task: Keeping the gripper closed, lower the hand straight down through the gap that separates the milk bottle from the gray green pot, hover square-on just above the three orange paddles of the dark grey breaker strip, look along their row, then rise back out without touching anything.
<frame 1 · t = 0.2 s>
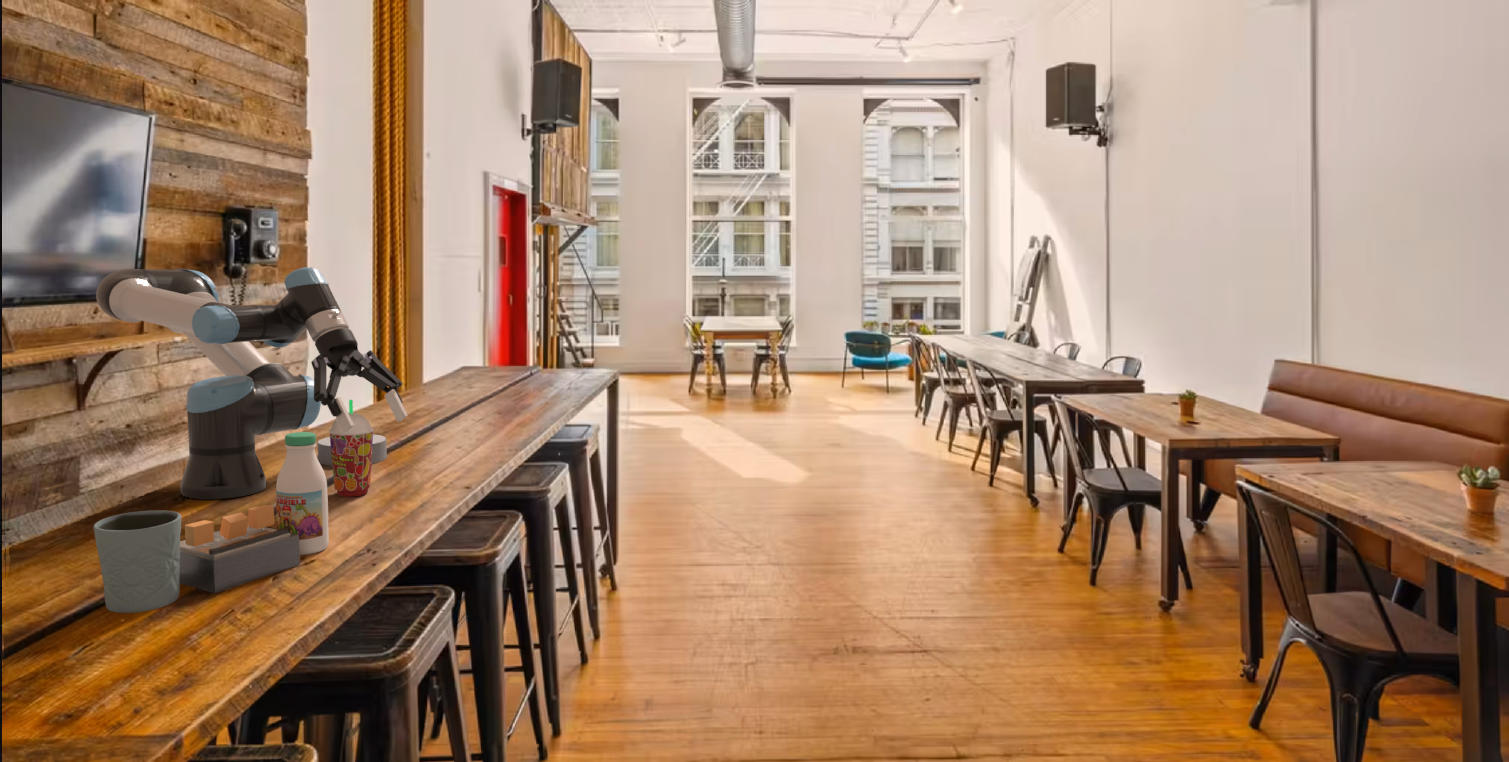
hand: (376, 423, 176), 15 cm above the table, tool tilted 35°, fingers open, 13 cm apart
breaker strip: (233, 571, 134), on the table
paddle near glass: (199, 533, 128), point 8 cm above the table, hinge at 0.0°
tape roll: (352, 460, 209), on the table
paddle centre: (234, 526, 133), point 7 cm above the table, hinge at 18.0°
paddle near bottle: (261, 516, 137), point 8 cm above the table, hinge at 0.0°
gray green pot: (142, 602, 122), on the table
smoothie: (352, 494, 179), on the table
milk bottle: (303, 550, 145), on the table
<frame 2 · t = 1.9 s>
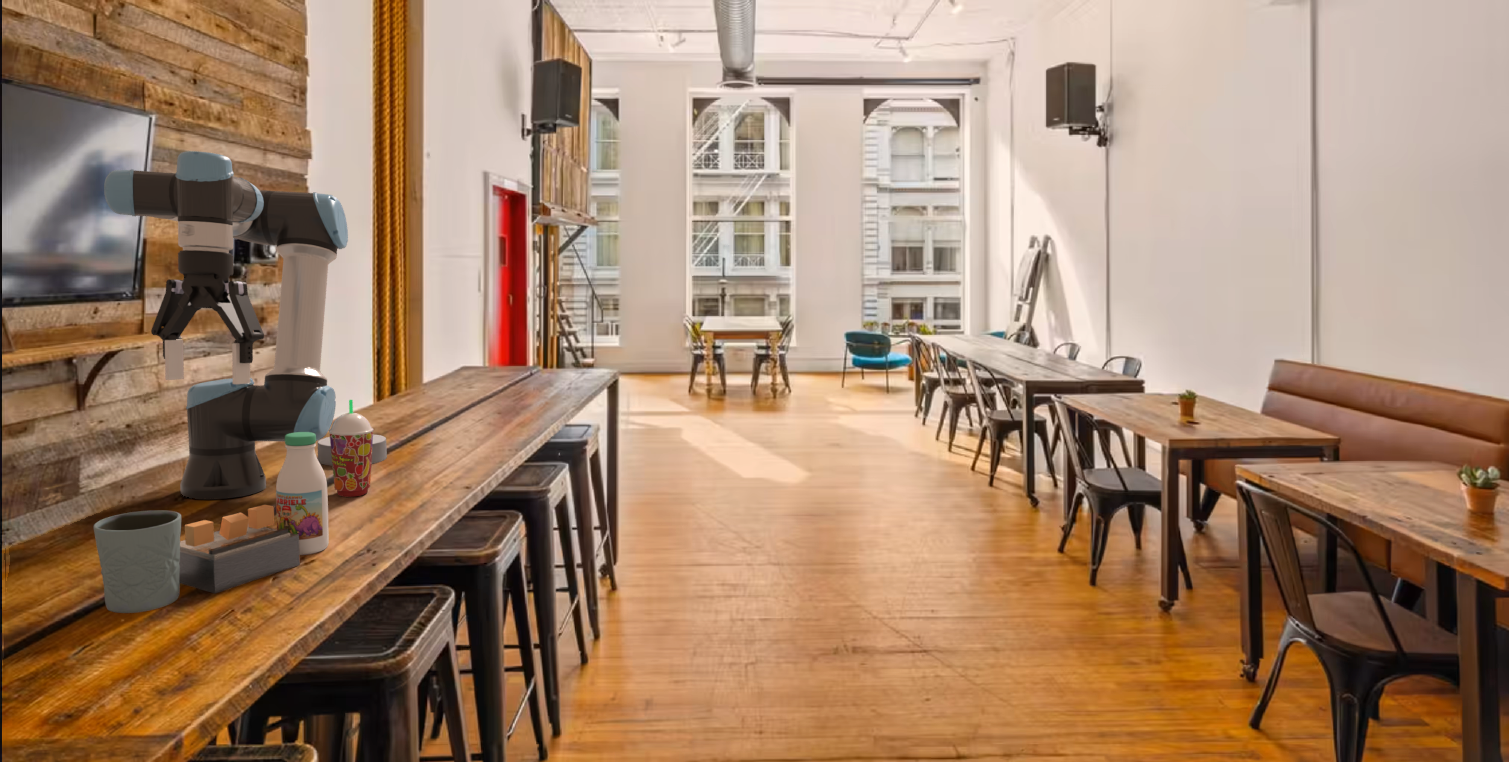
hand: (207, 381, 139), 28 cm above the table, tool pointing down, fingers open, 13 cm apart
nothing on the table moved.
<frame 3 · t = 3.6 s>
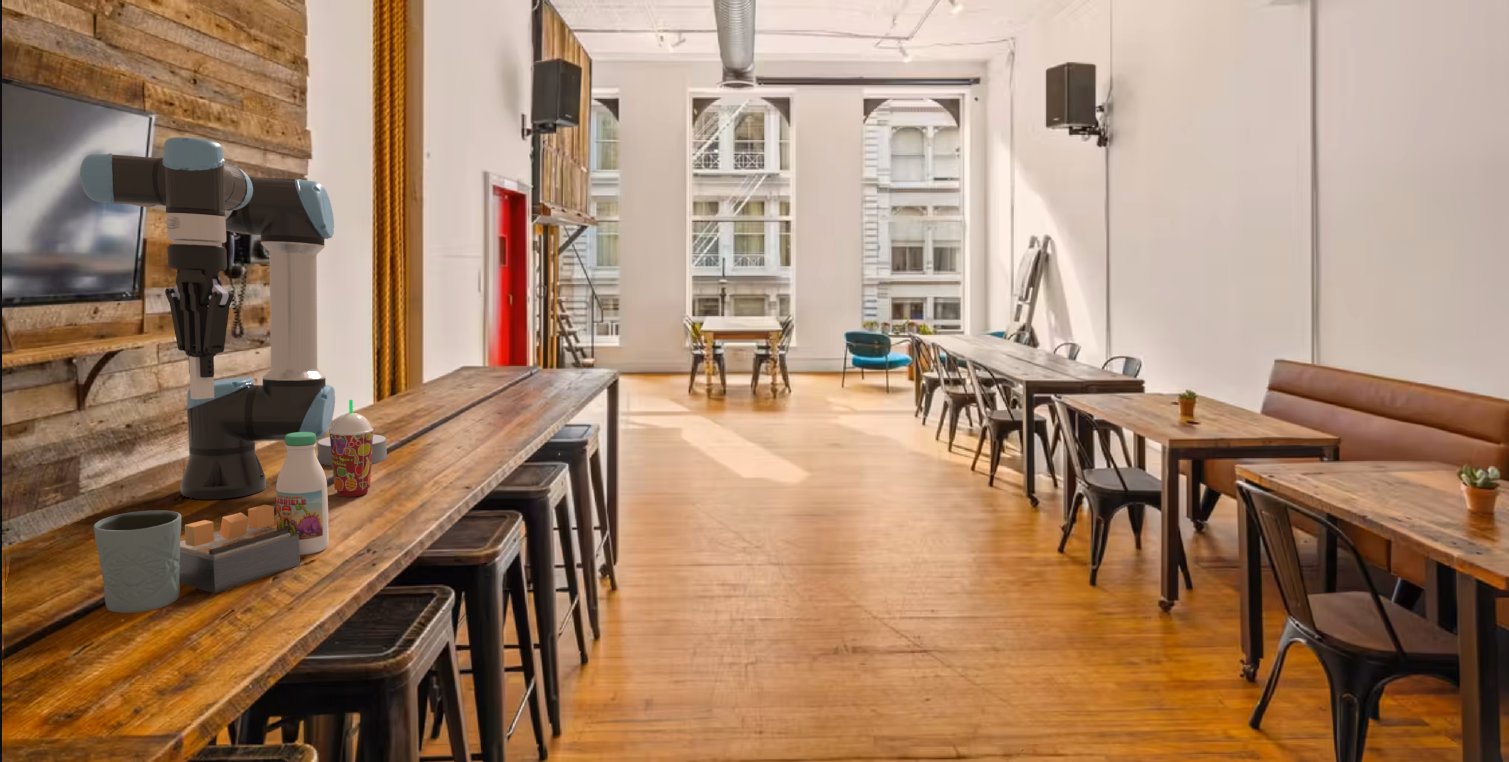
hand: (202, 397, 132), 27 cm above the table, tool pointing down, fingers closed
nothing on the table moved.
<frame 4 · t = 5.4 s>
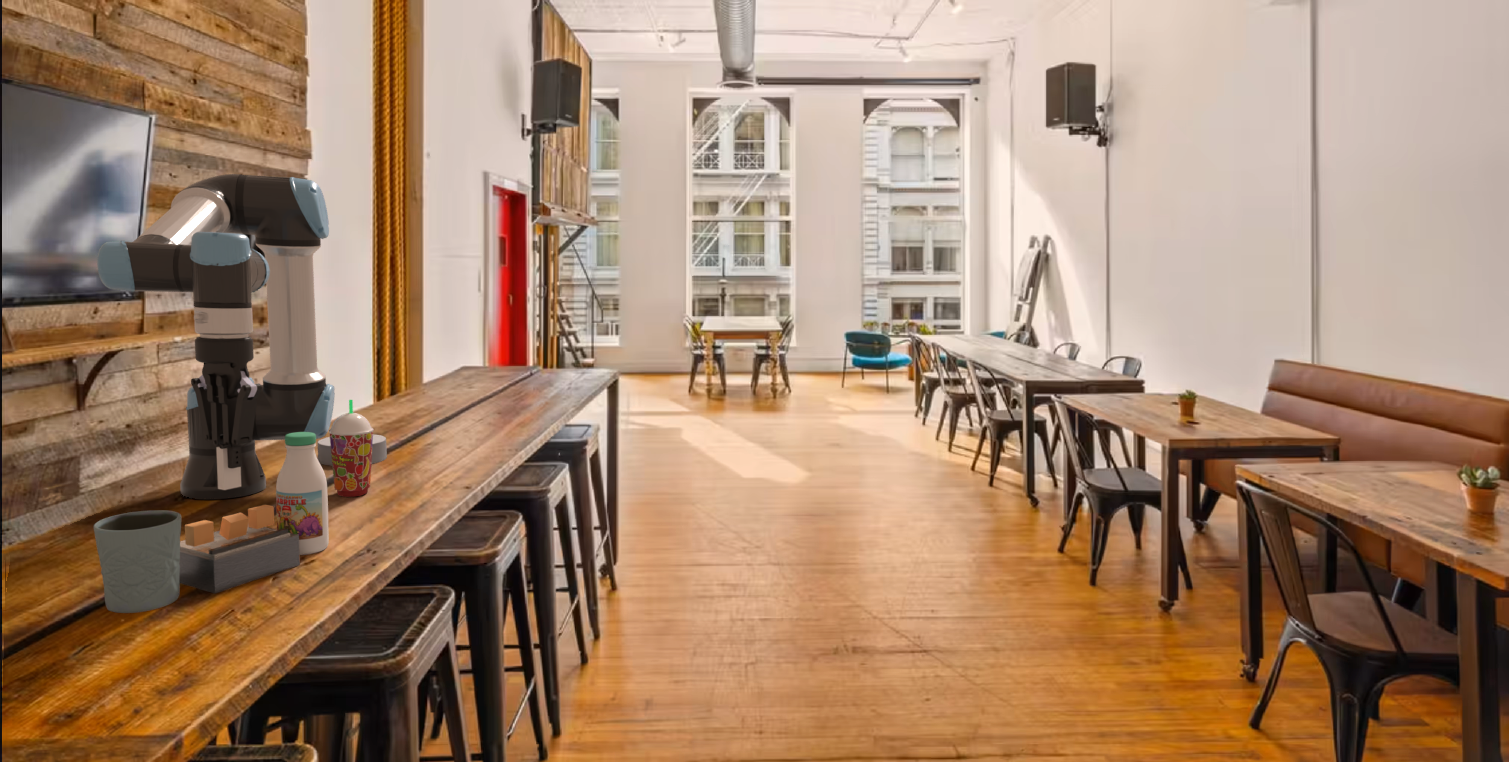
hand: (229, 487, 132), 14 cm above the table, tool pointing down, fingers closed
nothing on the table moved.
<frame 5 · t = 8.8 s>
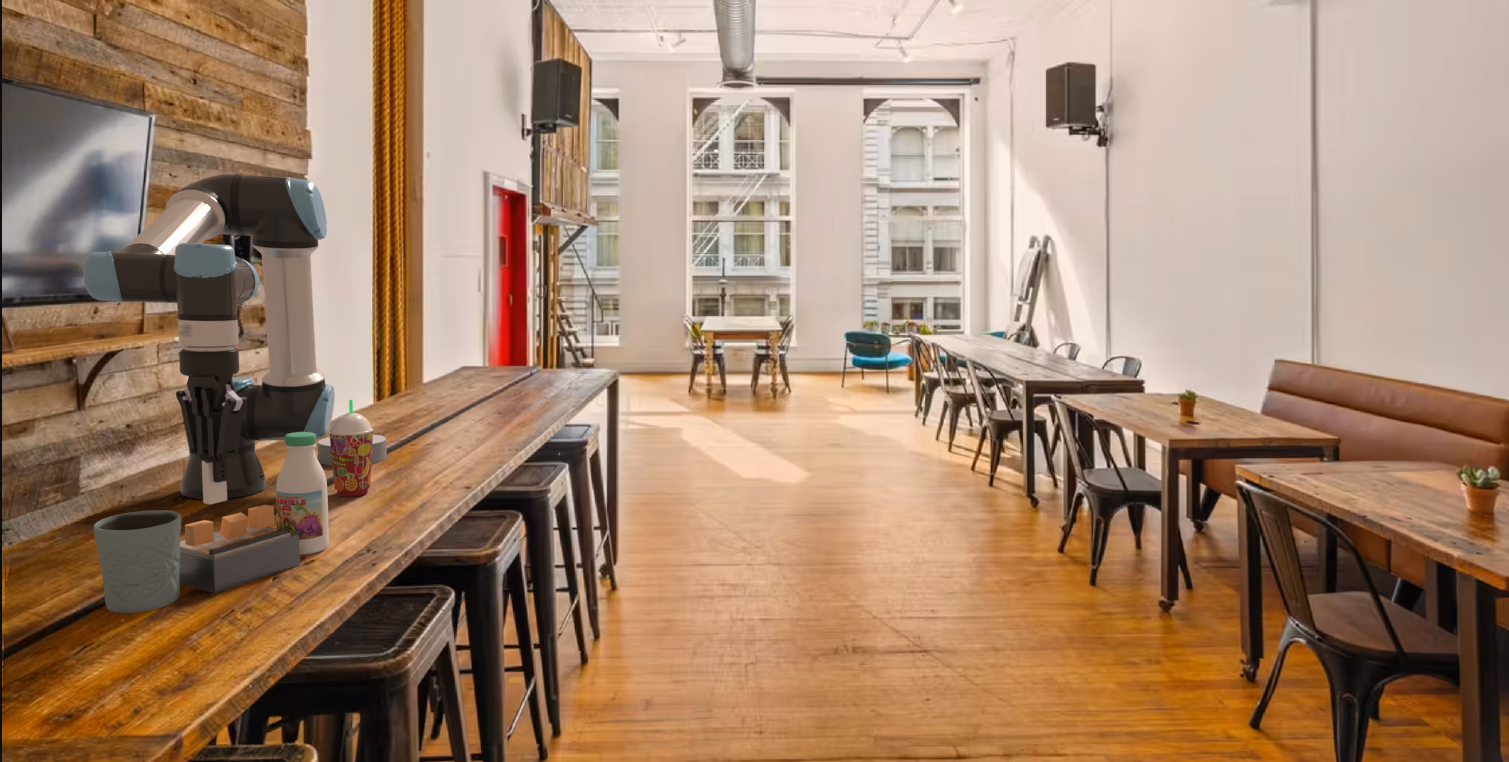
hand: (215, 501, 130), 12 cm above the table, tool pointing down, fingers closed
nothing on the table moved.
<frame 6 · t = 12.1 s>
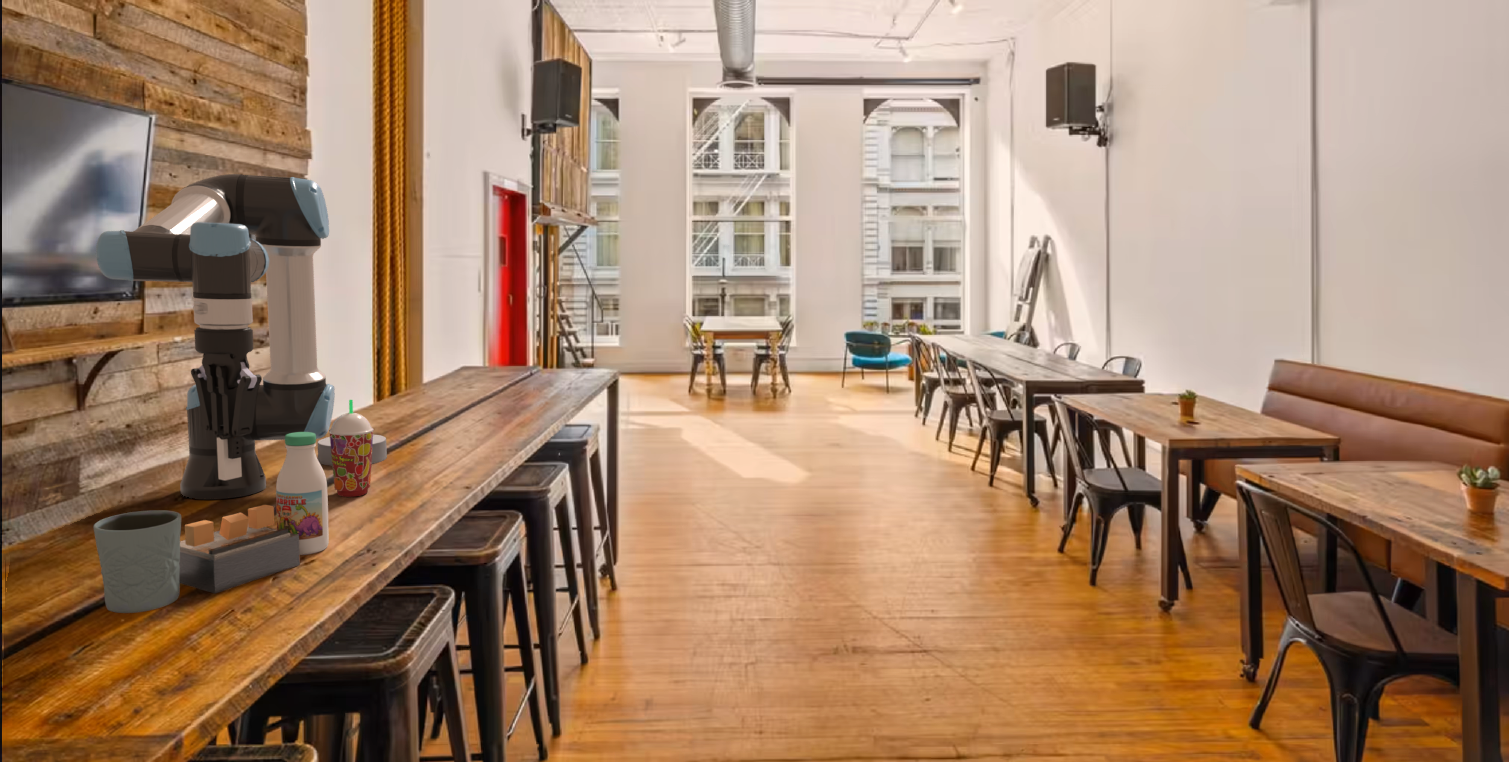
hand: (230, 477, 132), 15 cm above the table, tool pointing down, fingers closed
nothing on the table moved.
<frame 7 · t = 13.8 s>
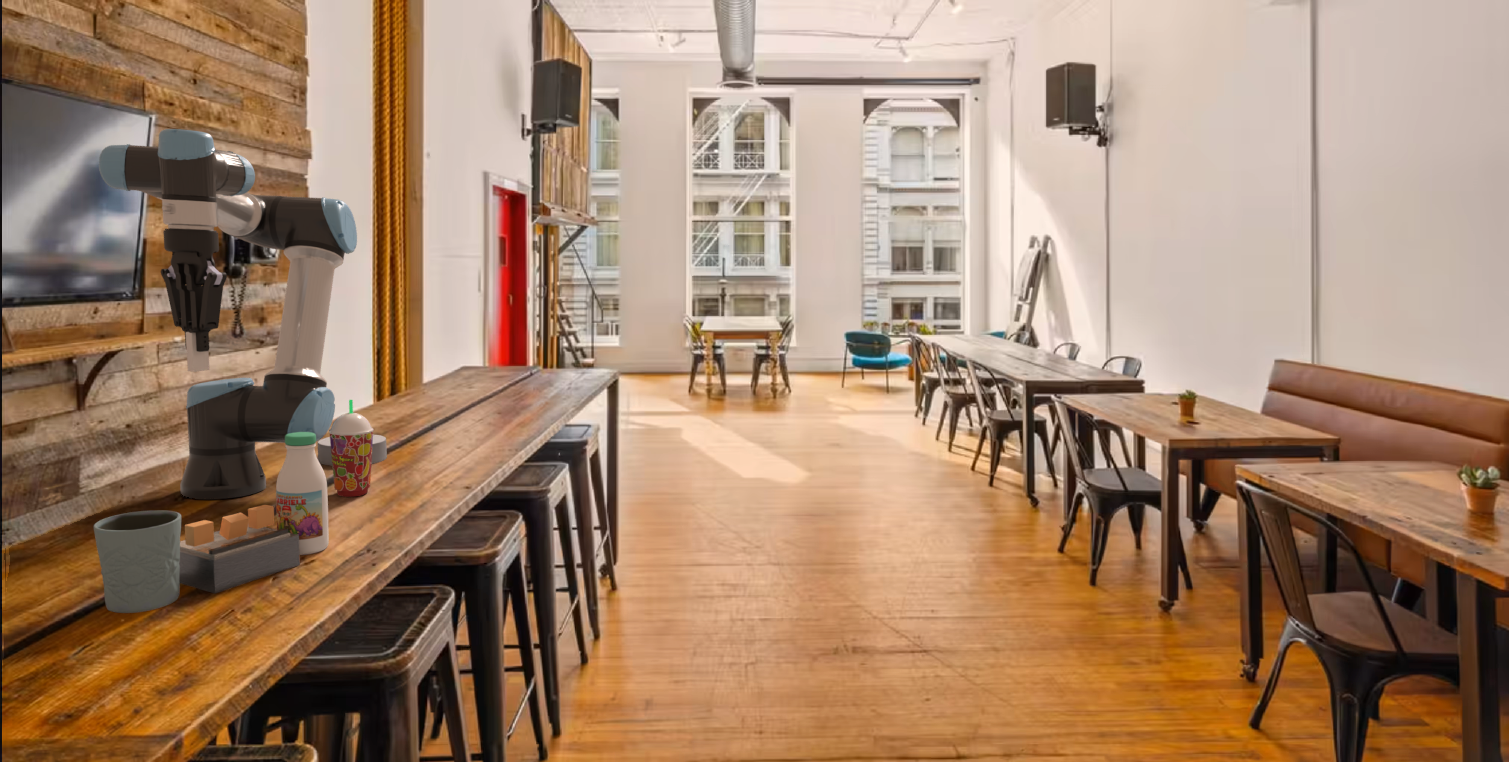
hand: (198, 370, 143), 30 cm above the table, tool pointing down, fingers closed
nothing on the table moved.
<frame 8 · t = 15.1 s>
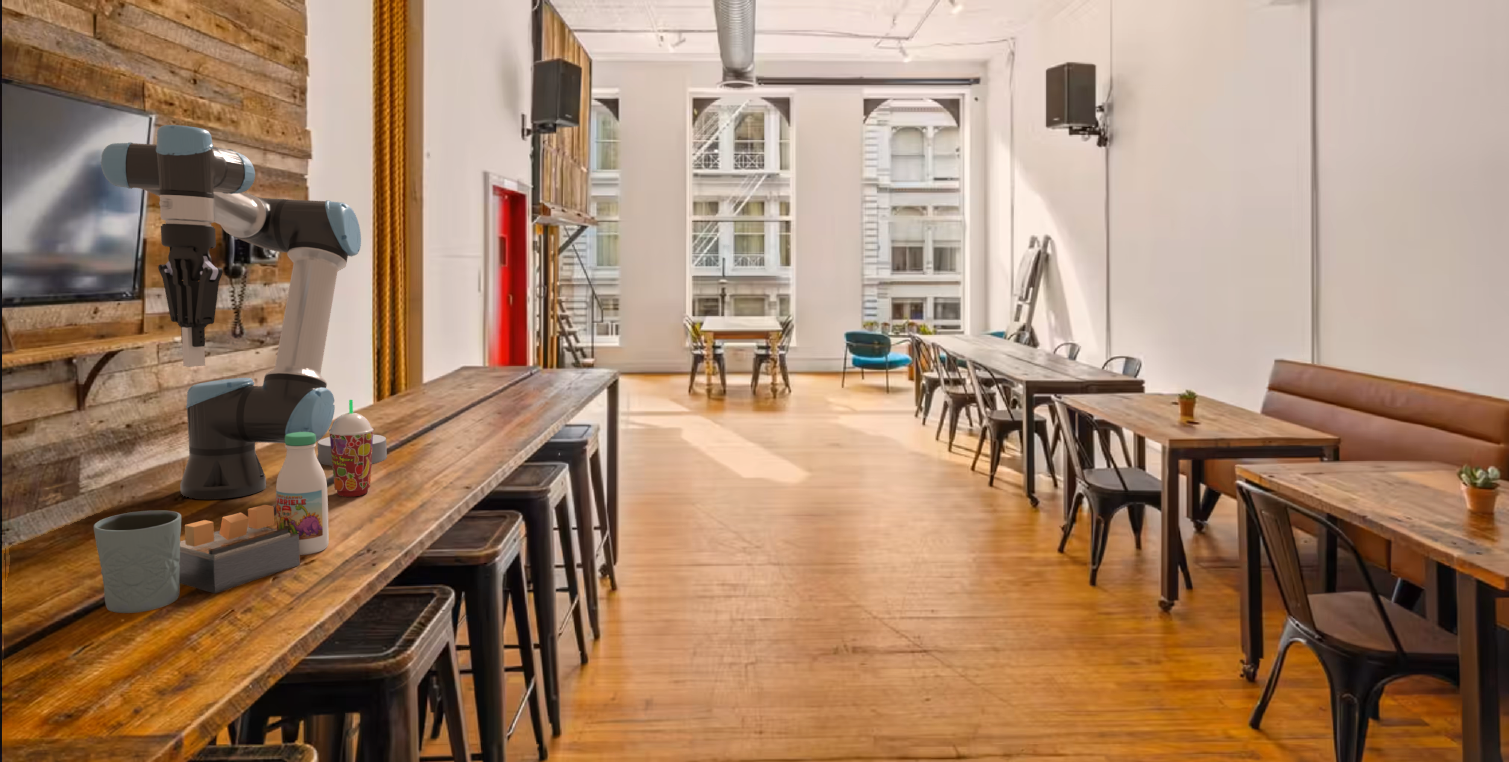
hand: (194, 365, 143), 30 cm above the table, tool pointing down, fingers closed
nothing on the table moved.
at the end: milk bottle moved 0.2 cm from its start; gray green pot moved 0.2 cm from its start; paddle centre at +18° (first picture: +18°) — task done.
